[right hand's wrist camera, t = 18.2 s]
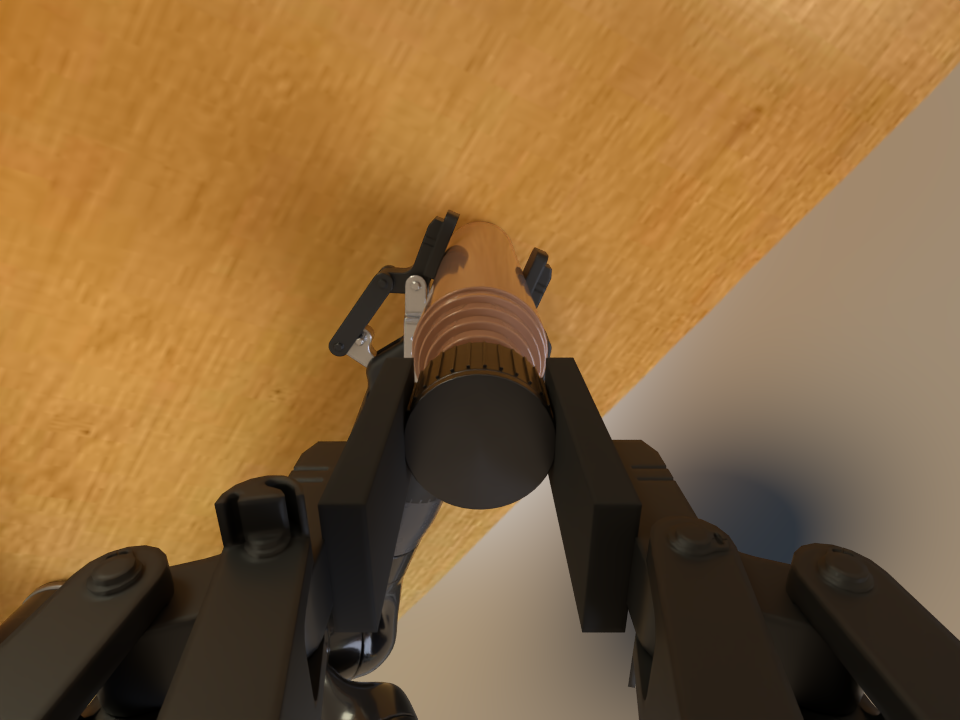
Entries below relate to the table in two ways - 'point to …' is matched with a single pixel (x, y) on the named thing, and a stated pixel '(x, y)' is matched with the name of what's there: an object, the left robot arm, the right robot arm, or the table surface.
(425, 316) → the bottle
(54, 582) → the left robot arm
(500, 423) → the cap
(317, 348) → the table surface
